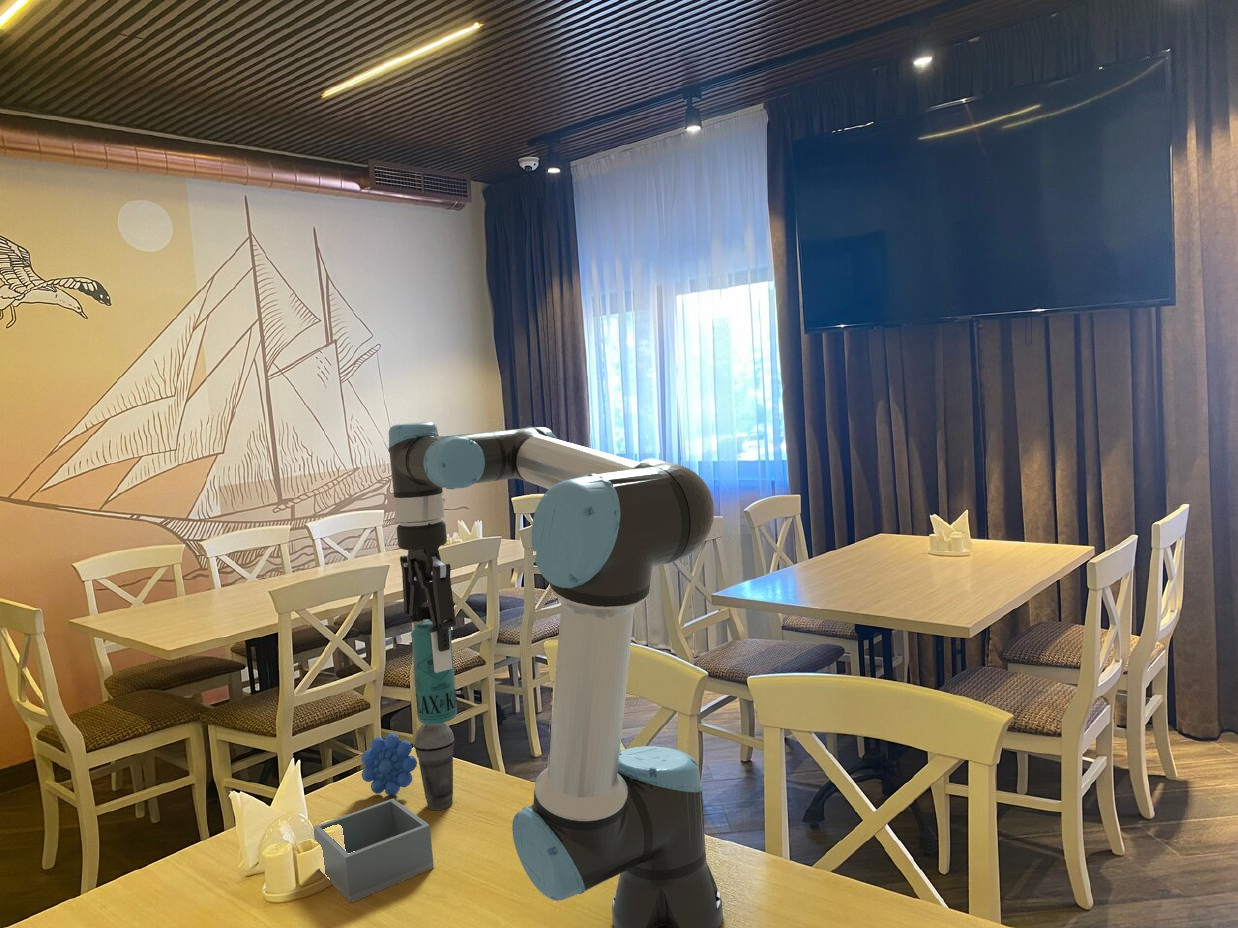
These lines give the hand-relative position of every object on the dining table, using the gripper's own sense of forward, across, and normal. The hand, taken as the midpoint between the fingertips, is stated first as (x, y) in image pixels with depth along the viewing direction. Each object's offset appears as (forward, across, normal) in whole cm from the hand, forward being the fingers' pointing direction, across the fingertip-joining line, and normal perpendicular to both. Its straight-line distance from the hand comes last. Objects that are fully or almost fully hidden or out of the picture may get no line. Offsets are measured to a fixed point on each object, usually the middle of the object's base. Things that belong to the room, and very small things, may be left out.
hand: (433, 664), depth 144 cm
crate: (+31, +4, +11) cm, 33 cm away
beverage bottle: (+10, 0, 0) cm, 10 cm away
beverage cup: (+32, +18, -7) cm, 37 cm away
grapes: (+32, +29, -2) cm, 43 cm away
